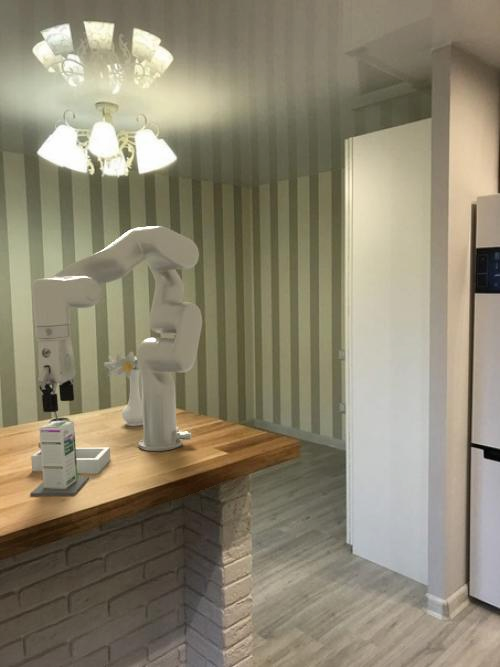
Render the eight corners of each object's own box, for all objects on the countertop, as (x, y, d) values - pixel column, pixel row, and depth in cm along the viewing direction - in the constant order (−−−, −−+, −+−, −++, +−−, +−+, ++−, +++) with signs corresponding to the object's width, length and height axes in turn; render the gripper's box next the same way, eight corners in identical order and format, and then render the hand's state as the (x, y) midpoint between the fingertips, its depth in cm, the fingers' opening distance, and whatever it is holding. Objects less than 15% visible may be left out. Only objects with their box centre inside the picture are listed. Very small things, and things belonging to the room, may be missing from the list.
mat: (89, 479, 127) (89, 476, 127) (74, 495, 117) (74, 492, 117) (48, 479, 128) (48, 477, 128) (30, 495, 118) (30, 493, 118)
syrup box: (66, 489, 120) (63, 427, 118) (42, 488, 120) (38, 426, 119) (78, 480, 125) (75, 420, 124) (55, 479, 126) (52, 420, 125)
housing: (110, 460, 141) (109, 445, 141) (98, 473, 131) (97, 457, 131) (45, 460, 142) (44, 446, 141) (28, 473, 132) (28, 458, 132)
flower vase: (116, 418, 186) (113, 348, 184) (165, 420, 183) (163, 349, 181) (99, 428, 174) (96, 353, 171) (152, 430, 170) (149, 353, 168)
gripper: (54, 337, 111) (61, 415, 113) (82, 328, 128) (87, 396, 130) (19, 338, 111) (26, 416, 113) (52, 329, 128) (58, 397, 130)
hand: (59, 405), depth 121 cm, fingers open, 9 cm apart
